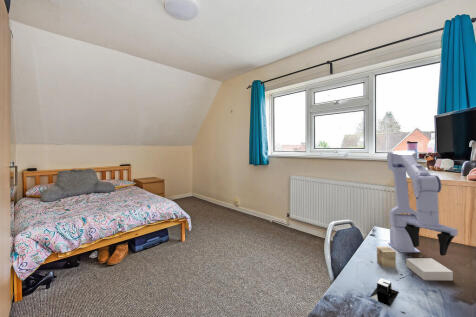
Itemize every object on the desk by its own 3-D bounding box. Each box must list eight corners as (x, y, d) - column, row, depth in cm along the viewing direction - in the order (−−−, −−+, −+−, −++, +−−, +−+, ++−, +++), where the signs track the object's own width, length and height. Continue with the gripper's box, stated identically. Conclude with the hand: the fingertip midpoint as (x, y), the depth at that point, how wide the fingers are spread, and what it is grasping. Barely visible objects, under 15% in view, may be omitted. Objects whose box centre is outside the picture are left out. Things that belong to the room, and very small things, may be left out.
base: (406, 266, 82) (406, 258, 82) (431, 266, 82) (431, 258, 82) (424, 280, 74) (424, 271, 73) (452, 280, 73) (452, 271, 73)
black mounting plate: (391, 312, 61) (391, 297, 61) (363, 300, 67) (363, 285, 66) (403, 292, 69) (403, 278, 69) (377, 282, 74) (377, 269, 74)
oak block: (377, 261, 87) (376, 246, 87) (388, 261, 87) (388, 246, 86) (383, 267, 83) (383, 252, 82) (395, 267, 82) (395, 251, 82)
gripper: (397, 208, 79) (398, 245, 78) (448, 216, 65) (450, 261, 65) (408, 206, 81) (410, 241, 81) (460, 214, 68) (462, 257, 68)
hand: (429, 250), depth 73 cm, fingers open, 7 cm apart
